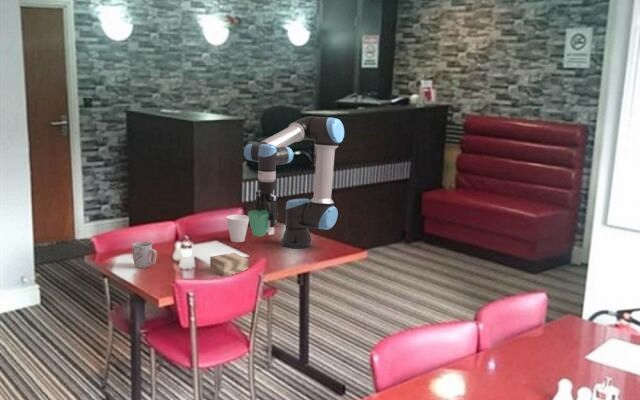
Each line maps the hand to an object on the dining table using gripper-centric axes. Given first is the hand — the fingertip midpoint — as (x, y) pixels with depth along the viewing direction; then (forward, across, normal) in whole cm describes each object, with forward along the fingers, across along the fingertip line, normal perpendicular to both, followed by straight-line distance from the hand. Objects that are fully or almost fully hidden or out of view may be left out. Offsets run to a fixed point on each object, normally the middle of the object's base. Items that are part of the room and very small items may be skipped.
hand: (265, 232), depth 298 cm
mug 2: (+1, 0, -1) cm, 1 cm away
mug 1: (+18, -31, -42) cm, 55 cm away
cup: (+17, -50, +15) cm, 55 cm away
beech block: (+18, -8, -14) cm, 24 cm away
